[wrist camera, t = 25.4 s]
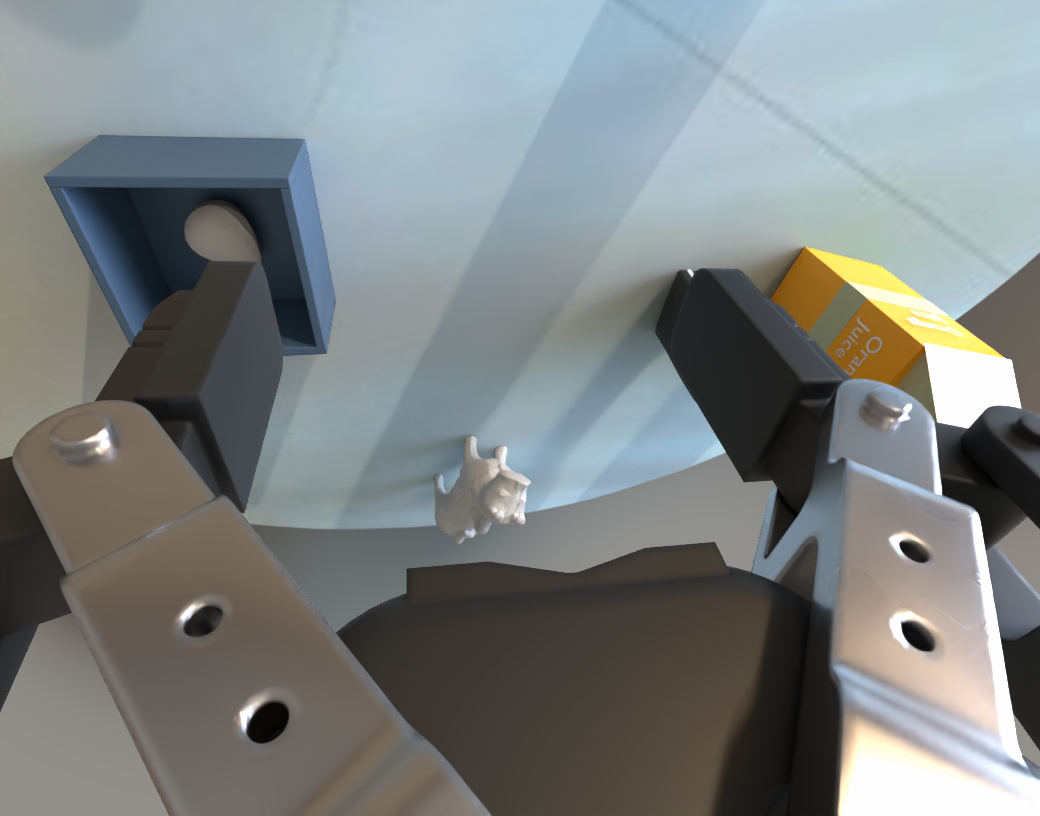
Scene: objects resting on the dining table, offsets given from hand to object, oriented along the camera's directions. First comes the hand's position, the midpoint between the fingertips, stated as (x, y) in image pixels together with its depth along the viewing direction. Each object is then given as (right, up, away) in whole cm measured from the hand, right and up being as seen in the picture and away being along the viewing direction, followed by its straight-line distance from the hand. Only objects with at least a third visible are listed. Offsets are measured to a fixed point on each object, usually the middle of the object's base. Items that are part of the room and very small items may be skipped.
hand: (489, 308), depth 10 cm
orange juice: (+28, +9, +40) cm, 49 cm away
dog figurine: (-4, -7, +47) cm, 48 cm away
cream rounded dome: (-19, +10, +27) cm, 35 cm away
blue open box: (-19, +8, +25) cm, 32 cm away
